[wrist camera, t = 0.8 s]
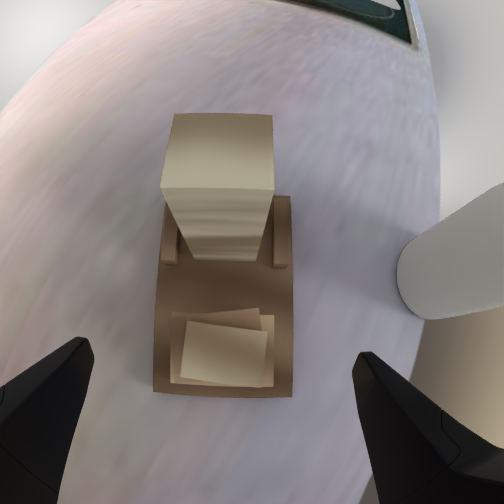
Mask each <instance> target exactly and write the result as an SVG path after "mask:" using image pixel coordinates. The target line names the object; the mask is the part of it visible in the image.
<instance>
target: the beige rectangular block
mask: <svg viewBox="0 0 504 504" xmlns="http://www.w3.org/2000/svg"><path fill="white" fill-rule="evenodd" d="M160 189H161V191H162V193H163V196H164V198H165V200H166V202H167V204H168V206H169V208H170V210H171V213H172V215H173V217H174V219H175V221H176V223H177V225H178V227H179V229H180V231H181V233H182V235H183V237H184V239H185V241H186V243H187V245H188V247H189V249H190V251H191V253H192V255H193V257H194V259H195V260H222V261H256V258H257V254H258V251H259V247H260V243H261V239H262V235H263V232H264V228H265V224H266V220H267V217H268V213H269V209H270V205H271V201H272V198H273V194H274V151H273V121H272V115H262V114H238V113H187V114H174V119H173V123H172V127H171V132H170V137H169V141H168V146H167V151H166V156H165V162H164V167H163V172H162V178H161V184H160Z"/></svg>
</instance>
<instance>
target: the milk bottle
mask: <svg viewBox="0 0 504 504" xmlns="http://www.w3.org/2000/svg"><path fill="white" fill-rule="evenodd" d="M397 285H398V289H399V292H400V295H401V297H402V299H403V301H404V302H405V304H406V305H407V307H408V308H409V309H410V310H411V311H412V312H413V313H415V314H416V315H418V316H420V317H422V318H425V319H441V318H446V317H452V316H458V315H463V314H469V313H473V312H479V311H483V310H488V309H492V308H496V307H500V306H504V183H501V184H499V185H497V186H495V187H493V188H491V189H490V190H488V191H486V192H485V193H484V194H482V195H480V196H479V197H477V198H475V199H474V200H472V201H471V202H469V203H468V204H466V205H465V206H464V207H462V208H461V209H459V210H458V211H456V212H454V213H453V214H451V215H450V216H449V217H447V218H445V219H444V220H442V221H441V222H439V223H438V224H436V225H435V226H433V227H432V228H430V229H429V230H427V231H426V232H424V233H422V234H421V235H419V236H418V237H416V238H415V239H413V240H412V241H411V242H409V243H408V244H407V245H406V246H405V248H404V249H403V251H402V253H401V255H400V257H399V260H398V265H397Z"/></svg>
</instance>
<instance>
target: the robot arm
mask: <svg viewBox="0 0 504 504" xmlns="http://www.w3.org/2000/svg"><path fill="white" fill-rule="evenodd" d="M93 364H94V354H93V351H92V349H91V346H90V343H89V341H88V339H87V338H83V337H75V338H73V339H72V340H70V341H69V342H67V343H66V344H64V345H63V346H61V347H60V348H58V349H57V350H55V351H54V352H52V353H51V354H49V355H48V356H46V357H45V358H43V359H42V360H40V361H39V362H37V363H36V364H34V365H33V366H31V367H30V368H28V369H27V370H25V371H24V372H22V373H21V374H19V375H18V376H16V377H15V378H13V379H12V380H10V381H9V382H7V383H6V384H5V385H3V386H1V387H0V504H57V500H58V494H59V490H60V485H61V481H62V477H63V473H64V469H65V465H66V461H67V457H68V453H69V450H70V446H71V442H72V439H73V436H74V432H75V429H76V426H77V422H78V419H79V416H80V413H81V410H82V407H83V404H84V401H85V397H86V394H87V389H88V385H89V381H90V376H91V372H92V368H93ZM352 377H353V383H354V389H355V396H356V403H357V409H358V415H359V419H360V423H361V426H362V430H363V434H364V438H365V442H366V446H367V450H368V454H369V458H370V463H371V467H372V471H373V475H374V480H375V484H376V489H377V493H378V498H379V503H380V504H504V449H502V448H499V447H496V446H494V445H492V444H491V443H489V442H488V441H486V440H484V439H483V438H481V437H480V436H478V435H477V434H475V433H474V432H472V431H471V430H469V429H468V428H466V427H465V426H463V425H462V424H460V423H459V422H457V420H455V419H454V418H453V417H451V416H450V415H449V414H448V413H446V412H445V411H444V410H441V408H440V407H439V406H438V405H436V404H435V403H434V402H433V401H432V400H430V399H429V398H428V397H427V396H425V395H424V394H423V393H422V392H421V391H419V390H418V389H417V388H416V387H414V386H413V385H412V384H411V383H410V382H408V381H407V380H406V379H405V378H403V377H402V376H401V375H400V374H399V373H397V372H396V371H395V370H394V369H392V368H391V367H390V366H389V365H388V364H386V363H385V362H384V361H383V360H381V359H380V358H379V357H378V356H377V355H375V354H374V353H373V352H370V351H368V352H360V353H359V355H358V357H357V359H356V362H355V364H354V367H353V370H352Z"/></svg>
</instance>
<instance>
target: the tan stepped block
mask: <svg viewBox="0 0 504 504" xmlns="http://www.w3.org/2000/svg"><path fill="white" fill-rule="evenodd" d="M292 382H293V268H292V230H291V204H290V196H275V195H273V198H272V201H271V205H270V209H269V213H268V217H267V220H266V224H265V228H264V232H263V235H262V239H261V243H260V247H259V251H258V254H257V258H256V261H222V260H195V259H194V257H193V255H192V253H191V251H190V249H189V247H188V245H187V243H186V241H185V239H184V237H183V235H182V233H181V231H180V229H179V227H178V225H177V223H176V221H175V219H174V217H173V215H172V213H171V210H170V208H169V206H168V204H167V202H166V205H165V212H164V220H163V228H162V237H161V246H160V256H159V266H158V278H157V291H156V306H155V326H154V361H153V392H161V393H170V394H180V395H193V396H208V397H234V398H273V397H292Z"/></svg>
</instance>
